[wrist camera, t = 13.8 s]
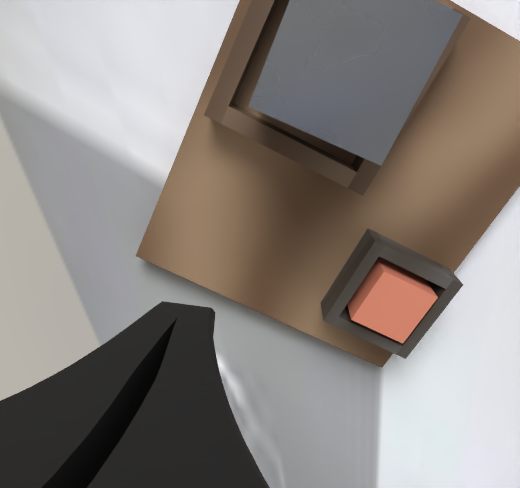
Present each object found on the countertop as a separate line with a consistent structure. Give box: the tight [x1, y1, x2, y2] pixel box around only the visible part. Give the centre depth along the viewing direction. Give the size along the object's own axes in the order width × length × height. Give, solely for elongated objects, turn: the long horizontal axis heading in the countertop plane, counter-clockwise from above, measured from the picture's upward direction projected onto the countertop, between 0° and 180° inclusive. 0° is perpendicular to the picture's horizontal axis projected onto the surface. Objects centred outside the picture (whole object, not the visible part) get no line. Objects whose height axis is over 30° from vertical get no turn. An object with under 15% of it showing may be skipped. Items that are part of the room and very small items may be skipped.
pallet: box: [136, 0, 520, 367], centre depth 17 cm, size 14×15×3 cm
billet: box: [248, 0, 463, 166], centre depth 13 cm, size 4×4×6 cm
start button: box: [347, 257, 438, 343], centre depth 18 cm, size 3×3×2 cm
